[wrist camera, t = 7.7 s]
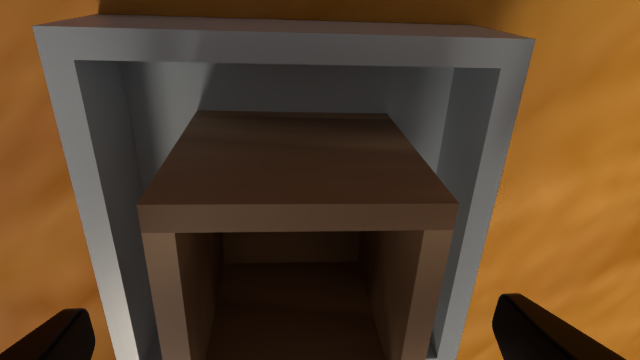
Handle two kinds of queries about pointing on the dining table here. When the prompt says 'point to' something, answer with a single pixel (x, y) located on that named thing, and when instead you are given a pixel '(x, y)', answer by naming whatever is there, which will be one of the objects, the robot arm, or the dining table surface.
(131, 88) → the grey crate
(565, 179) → the dining table surface
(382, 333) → the walnut crate
